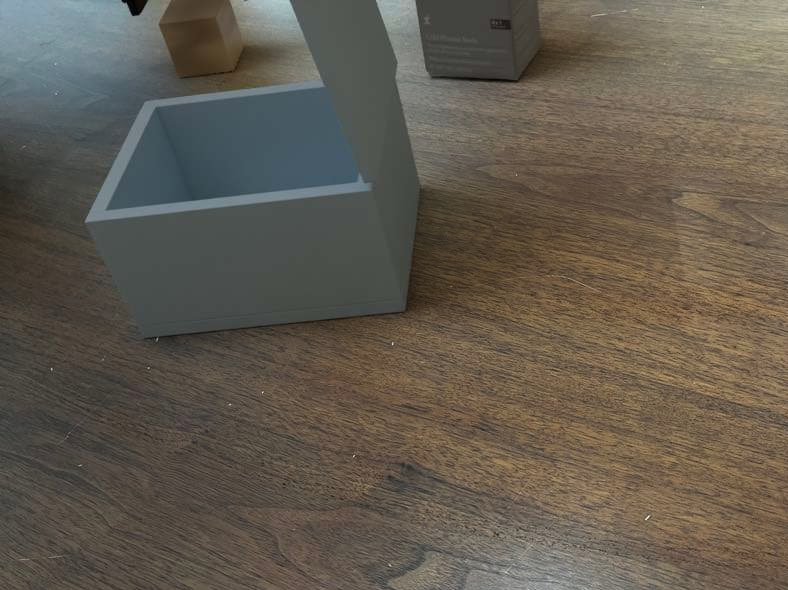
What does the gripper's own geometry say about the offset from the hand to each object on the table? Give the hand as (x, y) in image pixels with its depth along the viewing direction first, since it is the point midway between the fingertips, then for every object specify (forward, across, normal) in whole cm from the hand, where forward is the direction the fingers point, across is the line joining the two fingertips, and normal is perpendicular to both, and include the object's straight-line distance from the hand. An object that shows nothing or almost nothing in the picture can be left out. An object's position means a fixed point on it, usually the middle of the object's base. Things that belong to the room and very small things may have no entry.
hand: (195, 1), depth 93 cm
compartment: (+5, -12, +31) cm, 34 cm away
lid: (-13, -19, +31) cm, 39 cm away
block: (+5, 0, 0) cm, 5 cm away
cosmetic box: (+6, -25, +6) cm, 26 cm away
